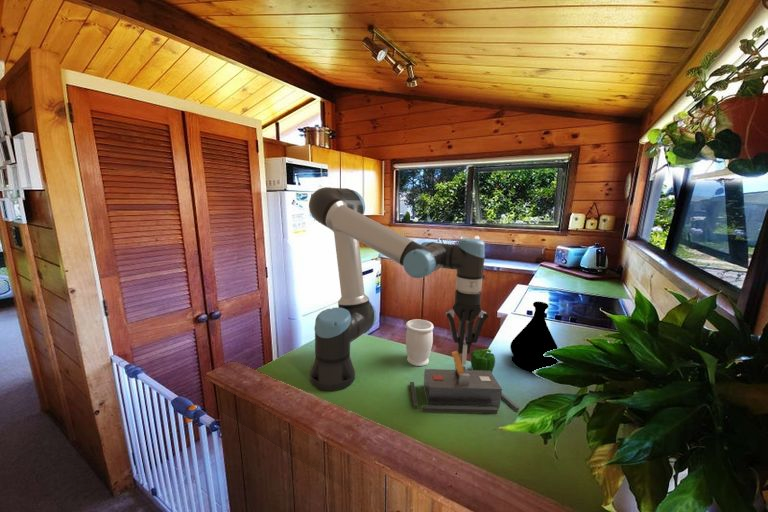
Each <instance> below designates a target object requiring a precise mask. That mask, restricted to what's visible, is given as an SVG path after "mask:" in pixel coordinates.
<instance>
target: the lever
mask: <svg viewBox="0 0 768 512" xmlns="http://www.w3.org/2000/svg"><path fill="white" fill-rule="evenodd" d="M451 355H452V358H453V362H454V367H455V366H456V369H457V372H458V374H459V373H464V370H463V367H462V363H461V360H460V354H459V352H458V350H455V351H452V352H451Z"/></svg>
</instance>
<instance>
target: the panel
mask: <svg viewBox="0 0 768 512" xmlns="http://www.w3.org/2000/svg"><path fill="white" fill-rule="evenodd" d="M462 367H463V370H464V373H459V374H458V372H457V369H456V366H455V365H454V369H441V368H440V369H439V368H436V369H435V368H433V369H431V368H424V373H423V374H424V375H423V388H424V394H425V396H426V401H427V406H467V407H496V408H497V407H498V408H499V407H501V400H502V398H501V393H503V389H502V387H501V385H500V384H499V382H498V381H497V379H496V377H495V376H494V374H493V373H491V371H481V370H472V369H470V370H469V369H466V365H462Z"/></svg>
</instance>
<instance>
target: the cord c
mask: <svg viewBox="0 0 768 512" xmlns="http://www.w3.org/2000/svg"><path fill="white" fill-rule="evenodd" d="M501 400H503V401H504V402H505V403H506V404H507V405H509V407H511V408H512V409H513V410H514V411H515V412H518V410H519V411H520V406H518V405H517V404H516V403H515V402H514V401H512V400H511V399H510V398H509V397H507V396H506V395H505V394H504V393H503V392H502V393H501Z"/></svg>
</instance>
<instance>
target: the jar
mask: <svg viewBox="0 0 768 512" xmlns="http://www.w3.org/2000/svg"><path fill="white" fill-rule="evenodd" d="M405 325H406V328H407V329H406V332H405V346H406V348H405V349H406V353H407V357H406V359H407V362H408V363H409V364H410V365H413V366H417V367H422V366H426V365H428V364H429V362H430V361H429V360H430V359H429V357H430V355H431V351H432V348H433V341H434V335H433V334H434V333H433V330H434V326H435V325H434V324H433V323H432V322H431V321H429V320H426V319H419V318H418V319H417V318H414V319H411V320H408V321H407V322H406V324H405Z"/></svg>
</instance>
